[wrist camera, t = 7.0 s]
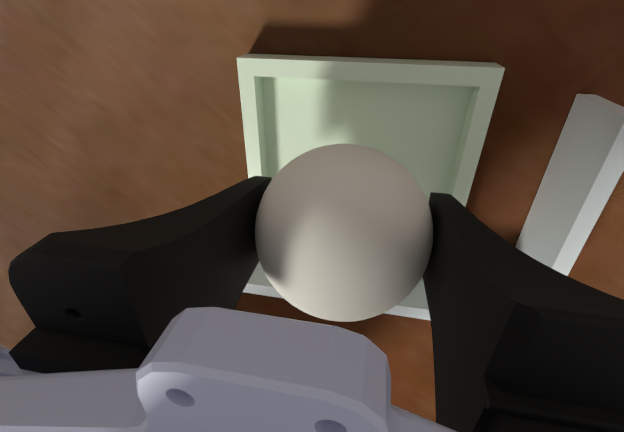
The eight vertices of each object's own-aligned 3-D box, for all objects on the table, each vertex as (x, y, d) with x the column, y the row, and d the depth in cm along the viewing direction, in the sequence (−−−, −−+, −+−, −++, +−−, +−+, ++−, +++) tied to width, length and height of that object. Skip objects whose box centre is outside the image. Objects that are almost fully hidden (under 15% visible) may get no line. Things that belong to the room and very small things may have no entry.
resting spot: (263, 241, 18) (256, 255, 17) (248, 53, 13) (236, 57, 12) (441, 263, 17) (444, 279, 16) (495, 62, 12) (505, 67, 11)
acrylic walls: (255, 252, 19) (234, 290, 16) (238, 77, 14) (205, 94, 11) (513, 285, 17) (535, 335, 14) (595, 94, 12) (651, 119, 9)
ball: (288, 241, 16) (238, 344, 11) (279, 117, 13) (206, 186, 8) (417, 256, 14) (423, 378, 10) (440, 124, 11) (463, 208, 7)
